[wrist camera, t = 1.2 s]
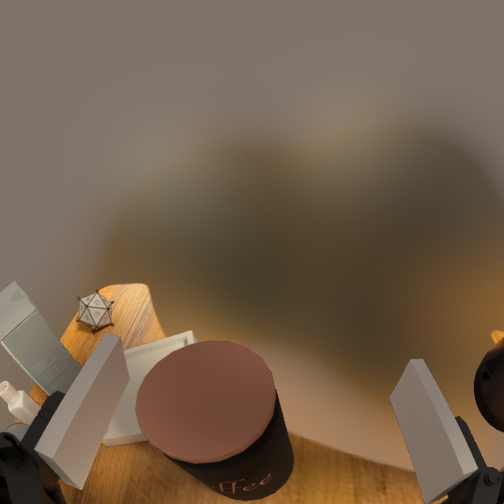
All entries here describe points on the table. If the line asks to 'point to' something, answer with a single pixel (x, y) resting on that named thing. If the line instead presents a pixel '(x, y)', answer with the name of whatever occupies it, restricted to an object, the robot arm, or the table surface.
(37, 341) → the hard drive box
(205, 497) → the table surface
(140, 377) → the tray
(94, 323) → the game die
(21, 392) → the pepper shaker
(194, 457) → the coffee jar
